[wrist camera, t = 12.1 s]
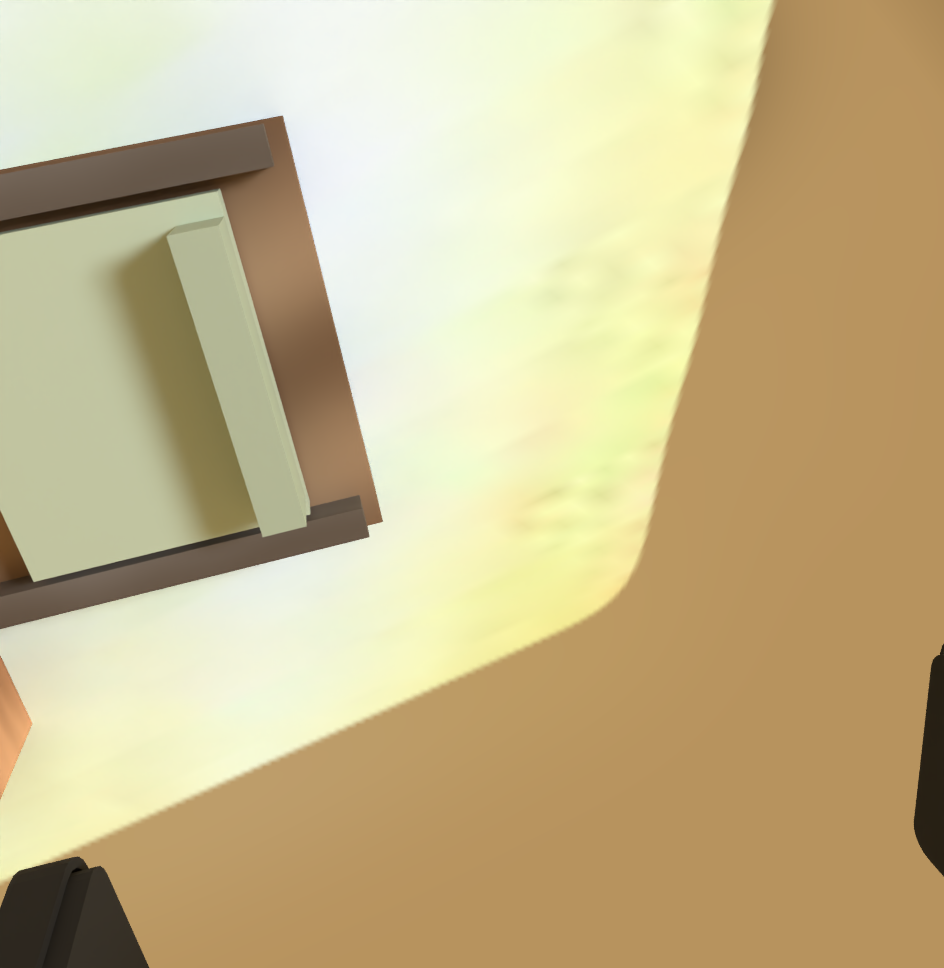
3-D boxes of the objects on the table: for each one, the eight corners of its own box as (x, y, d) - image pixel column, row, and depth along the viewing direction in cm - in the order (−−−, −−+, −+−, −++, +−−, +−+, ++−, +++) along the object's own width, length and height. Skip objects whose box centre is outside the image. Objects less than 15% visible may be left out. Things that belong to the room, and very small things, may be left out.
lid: (-100, 252, 21) (-157, 272, 18) (219, 187, 22) (210, 198, 19) (42, 565, 25) (13, 619, 22) (309, 500, 26) (312, 545, 23)
